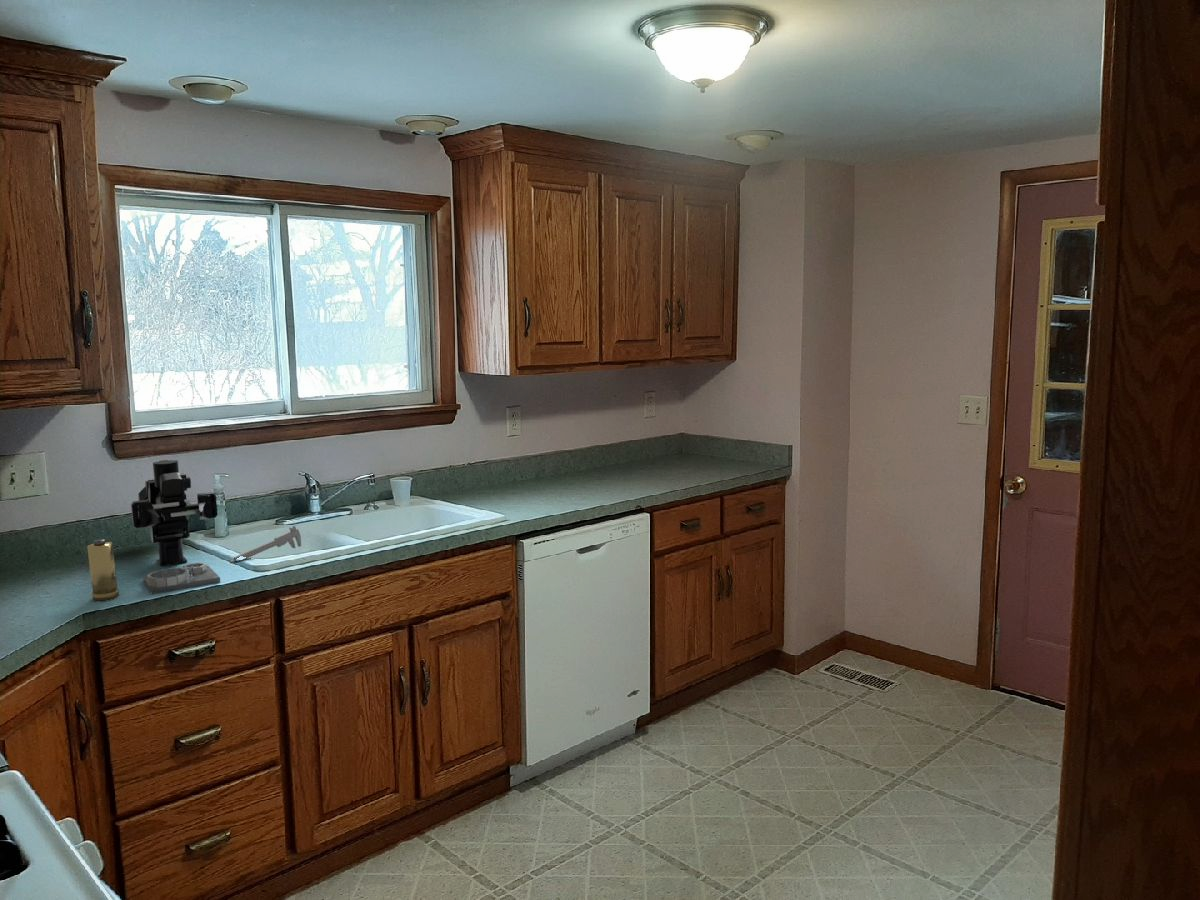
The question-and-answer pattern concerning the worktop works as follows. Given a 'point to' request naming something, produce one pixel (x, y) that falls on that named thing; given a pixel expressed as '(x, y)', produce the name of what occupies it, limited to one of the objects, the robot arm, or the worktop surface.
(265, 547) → the caliper
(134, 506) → the robot arm
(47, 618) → the worktop surface
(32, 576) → the worktop surface
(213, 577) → the plate
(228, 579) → the worktop surface
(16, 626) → the worktop surface
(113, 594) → the brass cylinder
